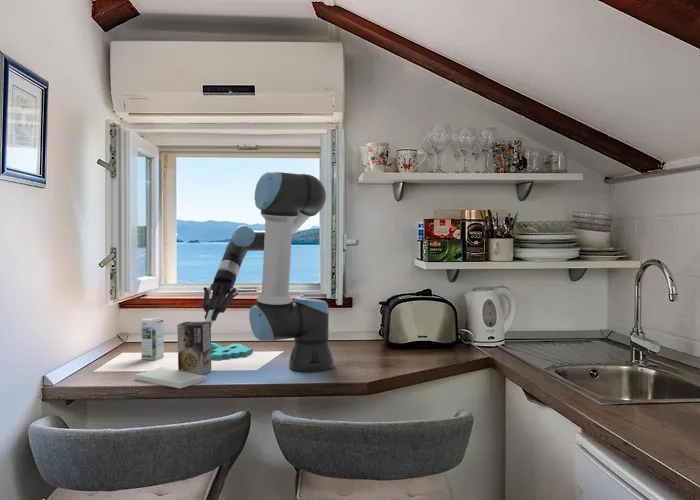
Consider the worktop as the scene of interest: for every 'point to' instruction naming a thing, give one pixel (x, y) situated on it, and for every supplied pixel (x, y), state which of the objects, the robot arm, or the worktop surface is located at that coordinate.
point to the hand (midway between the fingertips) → (206, 327)
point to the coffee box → (194, 347)
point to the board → (170, 377)
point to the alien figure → (229, 351)
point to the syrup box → (152, 338)
